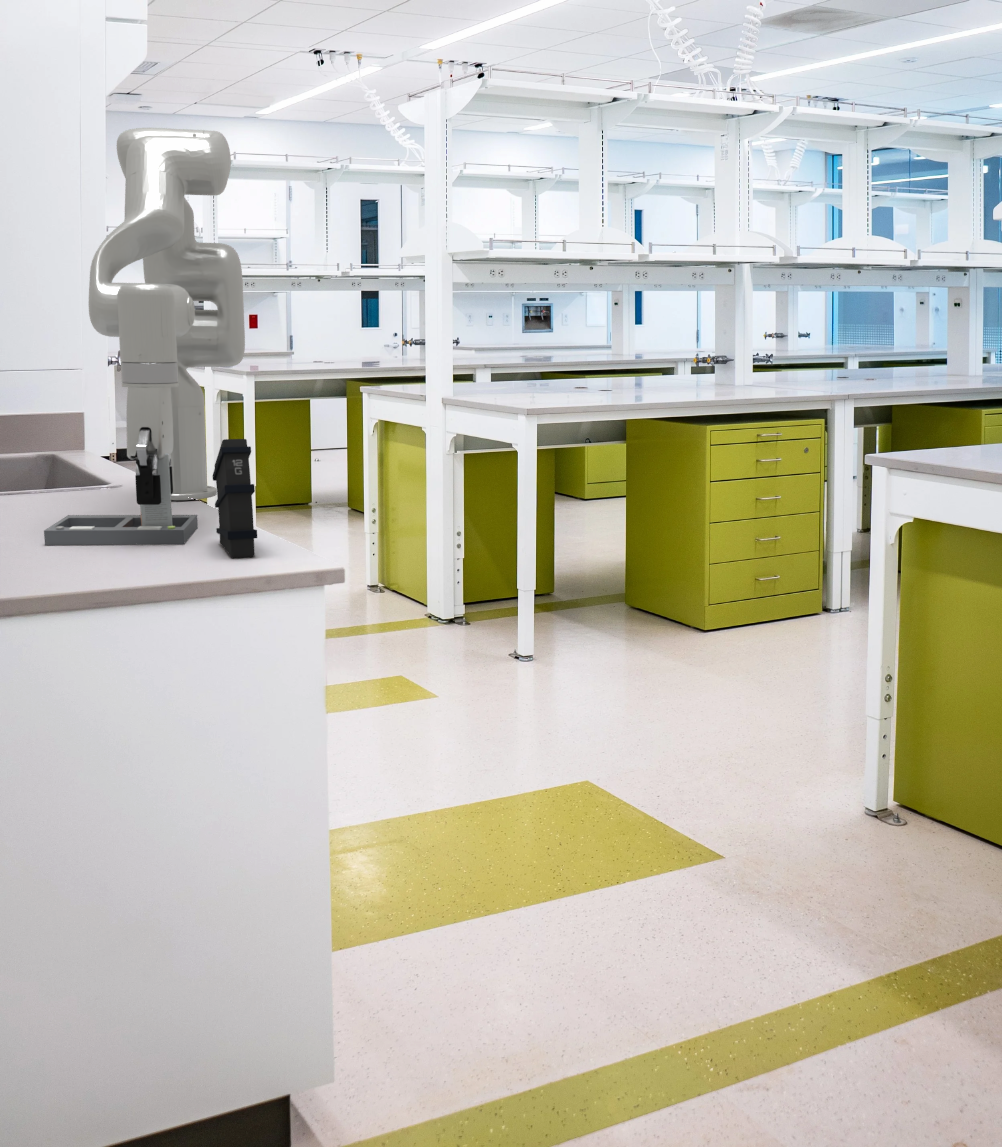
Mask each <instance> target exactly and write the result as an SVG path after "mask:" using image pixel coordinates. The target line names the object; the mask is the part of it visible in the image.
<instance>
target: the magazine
mask: <svg viewBox="0 0 1002 1147" xmlns="http://www.w3.org/2000/svg"><path fill="white" fill-rule="evenodd" d="M251 453H252V446H248V440H247V439H246V438H226V439H223V440H222V441H221V444H220V446H219V450H218V454H217V457H216V460H215V463H214V468H213V472H212V476H211V477H212V481H215V482H216V489H217V495H216V496H217V499H216V500H215V503H214V508H217V509H218V524H219V525H218V526H219V527H216V529H215V530H216V534H217V535H219V543H220V545H221V546H222V548H223V550H225V552H226V553H227V554H228V555H229V557H230V558H231V559H245V558H254V557H255V555H256V553H255V539H258V530H257V529H254V512H253V511H254V510H253V497H252V496H253V495H254V493H255V484H254V483H251V482H252V481H251V470H250V469H251V468H250V461H249V458H250V456H251V455H252V454H251Z"/></svg>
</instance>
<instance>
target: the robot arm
mask: <svg viewBox="0 0 1002 1147" xmlns="http://www.w3.org/2000/svg"><path fill="white" fill-rule="evenodd" d="M116 153H117V159H118V162H119V165H120V168H121V172H122V174H123V176H124V178H125V186H124V187H125V193H124V195H125V196H124V220H123V221H122V222H121V224H119V225H118V226H117V227H115V228H114V229H113V230H112V231H111V232H110V233H108V235H107V236H106V237H105V239H104V240H103V241H102V243H100V245H99V246H98V248H97V250H96V251H95V253H94V255H93V258H92V260H91V265H90V269H89V285H88V286H89V287H88V314H89V315H88V316H89V320H90V323H91V326H92V327H93V329H94V330H95V331H96V332H97V333H98V334H100V335H102V336H105V337H109V338H111V337H113V338H119V340H118V341H119V355H120V356H119V357H120V373H121V374H120V375H121V376H120V377H121V378H120V379H121V387H124V388H127V393H126V395H127V396H126V457H127V458H128V459H130V460H132V461H133V460H135V475H134V476H135V496H136V497H135V498H136V504H137V505H139V506H140V505H159V504H160V503H161V482H160V475H158V465H159V460H161V459H163V458H164V457H165V454H166V453H168V455H169V470H170V488H171V501H191V500H194V499H195V500H203V499H208V498H213V497H215V496H217V487H215V486H210V485H208V474H207V473H208V470H207V447H206V446H207V443H206V442H207V441H206V440H207V439H206V423H205V422H206V419H205V418H206V417H205V416H206V415H205V414H206V412H205V397H204V391H203V389H202V387H201V386H200V384H199V383H198V382H197V381H196V380H195V378H194V377H193V376H192V375H191V374H190V373H189V372H188V371H187V370H188V368H196V367H197V368H199V367H201V368H205V367H206V368H220V367H221V368H227V367H235V366H237V365H239V364H240V363H241V362H242V361H243V359H244V358H245V357H244V356H245V350H246V333H245V332H246V331H245V328H246V327H245V309H244V307H245V306H244V287H243V286H244V284H243V283H244V282H243V271H242V270H243V269H242V265H241V260H240V256H239V254H238V252H237V251H236V249H235V248H234V247H232V246H231V245H229V244H226V243H221V242H220V243H219V242H197V240H196V235H195V215H194V210H193V208H192V206H191V205H190V203H189V202H188V200H187V199H186V197H185V195H187V196H210V197H212V196H214V197H215V196H220V195H221V194H222V193H223V192H224V191H225V189H226V187H227V184H228V181H229V180H228V179H229V177H230V172H231V164H232V161H231V160H232V159H231V158H232V157H231V151H230V145H229V143H228V141H227V139H226V137H225V135H224V134H223V133H222V132H220V131H216V130H206V129H187V128H186V129H184V128H168V127H137V128H131V129H130V128H129V129H128V130H125V131H122V132H121V133H120V134H119V136H118V137H117V140H116ZM140 260H142V264H143V266H142V267H143V279H144V283H143V282H141V283H139V282H113V280H114V278H115V277H116V276H117V274H118V273H119V272H120V271H122V269H124V268H126V267H127V266H129V265H130V264H133V263H135V262H137V261H140ZM194 302H211V303H213V304H214V305H215V306H216V307H217V309H195V308H196V307H195V303H194ZM151 461H153V465H152V462H151ZM188 497H189V498H188ZM191 498H193V499H191Z"/></svg>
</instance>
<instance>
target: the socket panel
mask: <svg viewBox="0 0 1002 1147" xmlns="http://www.w3.org/2000/svg"><path fill="white" fill-rule="evenodd" d="M198 519H199V518H198V514H172V525H173V526H168V527H162V526H141V514H68V515H66V516H64V517H62V518H61V519H60V520H58V521H56V522H54V523H53V524H52V525H50V526H49V527H48V528H46V529H44V530H43V535H44V536H43V538H44V546H100V545H101V546H115V545H116V546H122V545H124V546H127V545H128V546H129V545H130V546H133V545H134V546H136V545H137V546H139V545H140V546H143V545H147V546H148V545H150V546H151V545H152V546H155V545H156V546H157V545H158V546H159V545H161V546H162V545H185V544H186V543H187V542H188V541H189V539H190V538H191V537H192V536H193V535H194V533H196V532H197V530H198V529H199V526H198V525H199V524H198V523H199V522H198V521H199V520H198Z"/></svg>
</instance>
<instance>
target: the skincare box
mask: <svg viewBox="0 0 1002 1147" xmlns="http://www.w3.org/2000/svg"><path fill="white" fill-rule="evenodd" d="M151 462H152V465H153V461H151ZM158 475H160V482H161V503H160V504H159V505H139V510H140V512H139V513H140V515H141V526H162V527H168V526H173V525H172V515H173V513H172V512H173V511H172V510H173V509H172V508H173V507H172V500H171V488H170V470H169V455H168V453H166V454H165V457H164V458H163V459H161V460H159V465H158Z"/></svg>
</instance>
